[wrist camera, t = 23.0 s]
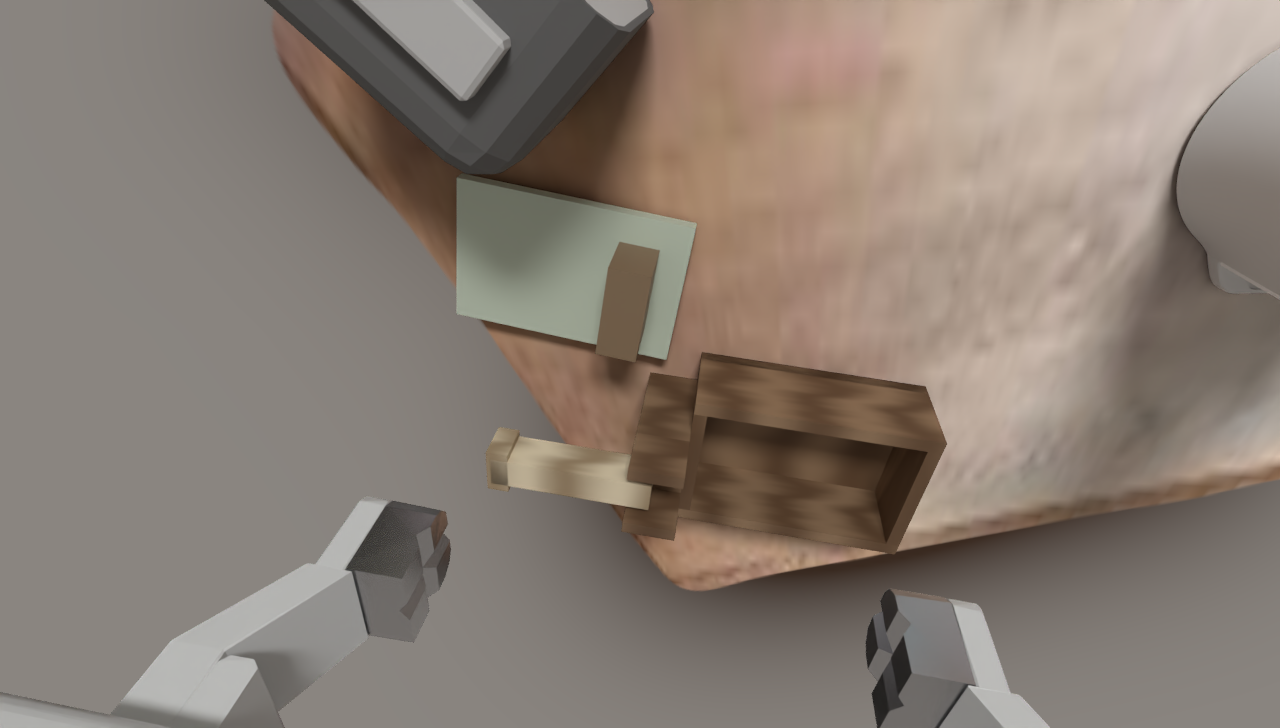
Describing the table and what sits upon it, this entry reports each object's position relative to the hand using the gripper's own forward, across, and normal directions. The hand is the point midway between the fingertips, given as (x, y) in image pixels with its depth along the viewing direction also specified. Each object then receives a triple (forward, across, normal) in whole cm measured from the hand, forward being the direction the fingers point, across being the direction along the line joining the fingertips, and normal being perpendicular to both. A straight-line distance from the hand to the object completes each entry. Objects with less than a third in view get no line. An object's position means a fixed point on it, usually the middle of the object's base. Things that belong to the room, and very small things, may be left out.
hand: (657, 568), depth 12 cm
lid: (+38, +10, +13) cm, 41 cm away
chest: (+37, -8, +25) cm, 45 cm away
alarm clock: (+37, +15, -6) cm, 41 cm away
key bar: (+29, +7, +25) cm, 39 cm away
